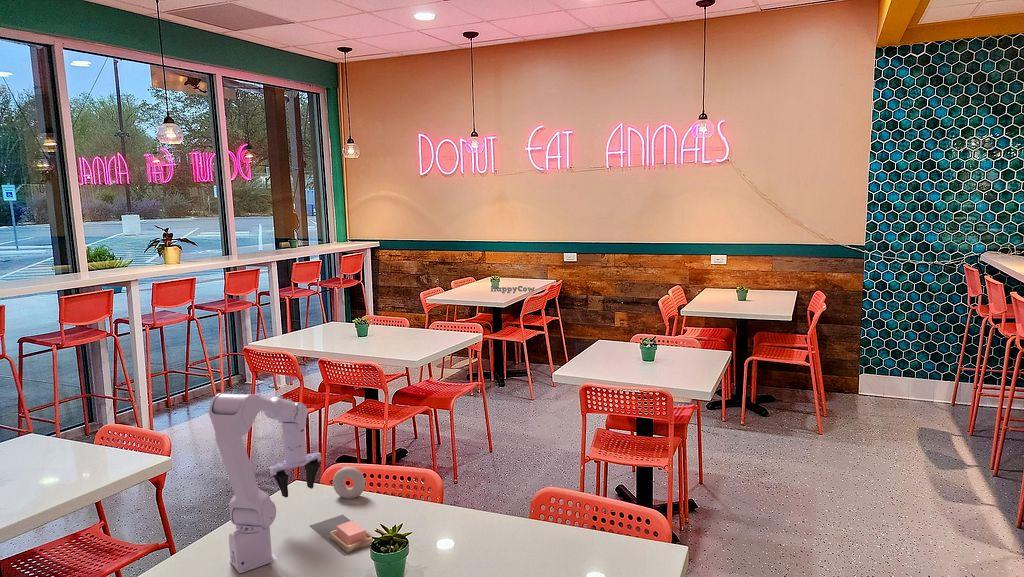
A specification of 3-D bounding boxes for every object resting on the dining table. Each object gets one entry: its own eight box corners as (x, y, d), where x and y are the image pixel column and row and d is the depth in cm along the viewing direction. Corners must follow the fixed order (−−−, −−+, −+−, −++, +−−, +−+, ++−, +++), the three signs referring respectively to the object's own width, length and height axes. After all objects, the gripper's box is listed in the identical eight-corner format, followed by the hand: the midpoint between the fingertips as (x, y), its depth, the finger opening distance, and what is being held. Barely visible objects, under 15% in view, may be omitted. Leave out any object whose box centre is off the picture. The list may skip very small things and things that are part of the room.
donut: (367, 496, 206) (365, 464, 205) (364, 501, 202) (362, 469, 201) (336, 496, 207) (334, 464, 206) (332, 500, 203) (329, 469, 202)
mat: (344, 557, 169) (344, 555, 169) (309, 527, 186) (309, 525, 186) (379, 544, 175) (379, 542, 175) (342, 516, 192) (342, 514, 192)
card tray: (347, 553, 170) (346, 547, 170) (329, 538, 179) (328, 532, 178) (374, 542, 175) (374, 537, 175) (356, 528, 183) (355, 523, 183)
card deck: (337, 536, 178) (336, 525, 178) (353, 531, 181) (352, 520, 181) (349, 547, 173) (349, 536, 172) (366, 541, 175) (365, 530, 175)
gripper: (276, 455, 178) (280, 504, 180) (325, 440, 188) (328, 487, 190) (264, 449, 183) (268, 497, 184) (312, 435, 193) (315, 480, 195)
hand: (297, 491), depth 188 cm, fingers open, 7 cm apart
